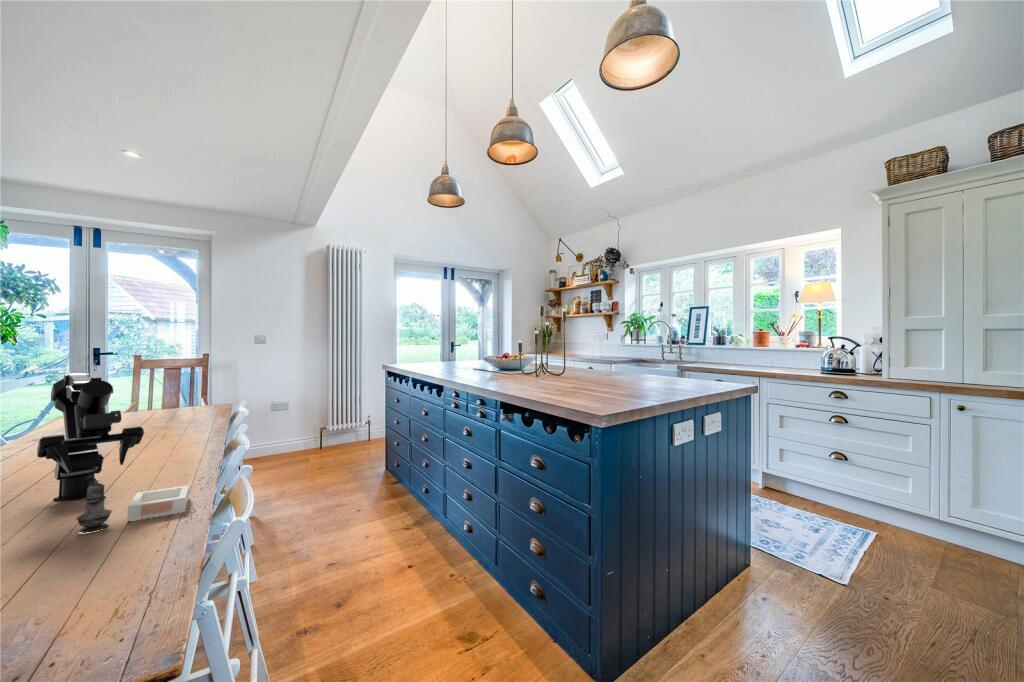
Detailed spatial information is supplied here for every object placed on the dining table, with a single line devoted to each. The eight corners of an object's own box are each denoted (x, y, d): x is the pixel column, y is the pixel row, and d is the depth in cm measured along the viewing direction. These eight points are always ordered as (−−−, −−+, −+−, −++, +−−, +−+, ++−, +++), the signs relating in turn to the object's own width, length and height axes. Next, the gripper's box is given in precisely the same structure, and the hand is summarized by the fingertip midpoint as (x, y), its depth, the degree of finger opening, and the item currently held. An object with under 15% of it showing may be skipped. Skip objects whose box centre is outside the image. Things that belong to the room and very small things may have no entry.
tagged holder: (126, 522, 96) (127, 507, 96) (136, 507, 106) (137, 492, 106) (184, 512, 103) (185, 498, 103) (188, 498, 112) (189, 485, 112)
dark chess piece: (86, 536, 89) (90, 485, 90) (68, 533, 90) (71, 482, 91) (117, 525, 95) (120, 477, 95) (99, 522, 96) (102, 475, 96)
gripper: (41, 404, 94) (44, 459, 87) (144, 398, 109) (153, 444, 103) (35, 430, 98) (38, 484, 92) (135, 420, 113) (143, 466, 107)
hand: (97, 468), depth 98 cm, fingers open, 9 cm apart
